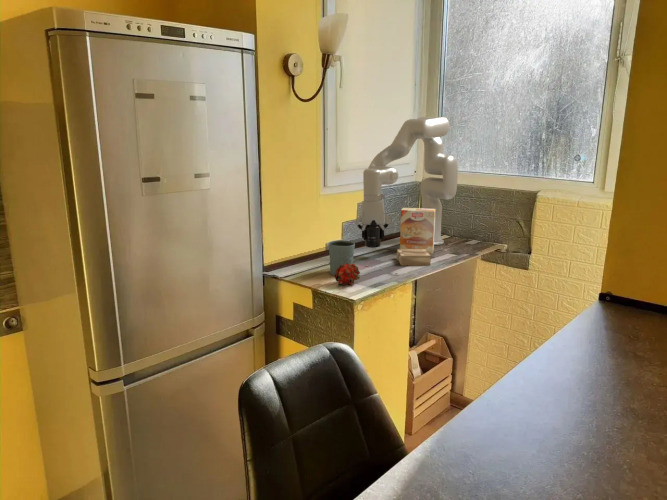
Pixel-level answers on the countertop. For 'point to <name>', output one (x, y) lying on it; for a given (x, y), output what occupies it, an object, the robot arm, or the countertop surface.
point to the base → (413, 257)
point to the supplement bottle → (373, 235)
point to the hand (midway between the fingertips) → (372, 238)
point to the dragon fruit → (347, 274)
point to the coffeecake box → (417, 229)
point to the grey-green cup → (340, 254)
